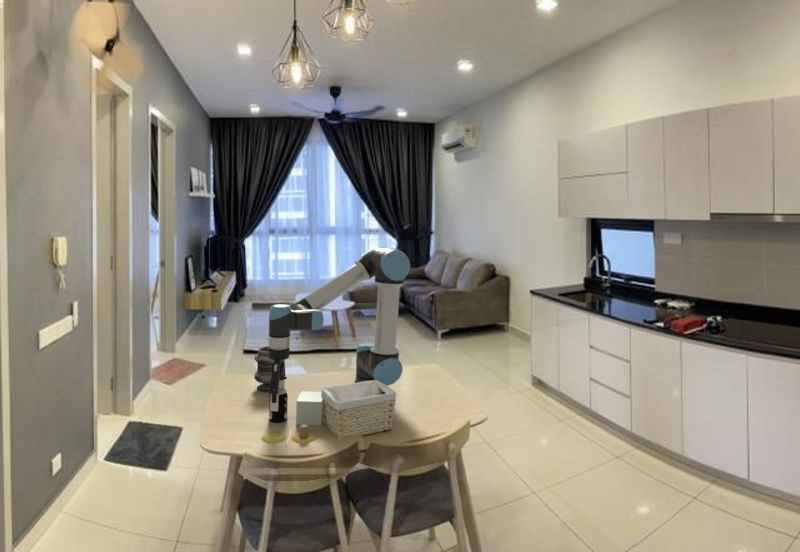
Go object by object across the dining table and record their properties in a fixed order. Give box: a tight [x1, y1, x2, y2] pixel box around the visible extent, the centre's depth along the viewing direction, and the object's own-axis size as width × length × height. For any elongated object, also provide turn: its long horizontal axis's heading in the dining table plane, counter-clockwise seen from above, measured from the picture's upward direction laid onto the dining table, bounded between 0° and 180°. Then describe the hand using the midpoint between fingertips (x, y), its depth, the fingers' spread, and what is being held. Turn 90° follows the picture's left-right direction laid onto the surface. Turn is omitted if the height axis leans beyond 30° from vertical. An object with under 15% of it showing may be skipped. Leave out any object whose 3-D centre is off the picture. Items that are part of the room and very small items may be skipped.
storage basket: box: [320, 380, 397, 439], centre depth 178 cm, size 24×16×15 cm
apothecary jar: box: [253, 345, 274, 393], centre depth 215 cm, size 12×12×18 cm
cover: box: [295, 390, 324, 426], centre depth 182 cm, size 10×10×9 cm
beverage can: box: [268, 388, 289, 424], centre depth 180 cm, size 7×7×12 cm
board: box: [261, 425, 316, 447], centre depth 167 cm, size 18×13×5 cm
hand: (277, 403), depth 180 cm, fingers open, 13 cm apart
